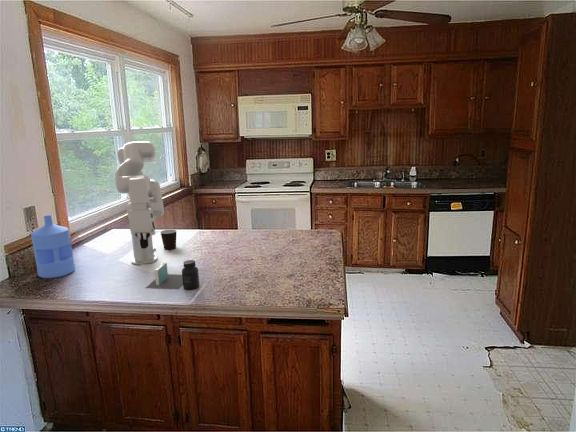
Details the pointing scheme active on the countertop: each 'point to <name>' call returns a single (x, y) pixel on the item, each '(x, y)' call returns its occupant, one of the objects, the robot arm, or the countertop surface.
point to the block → (161, 273)
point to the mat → (168, 282)
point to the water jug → (52, 250)
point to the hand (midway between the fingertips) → (144, 247)
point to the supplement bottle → (190, 275)
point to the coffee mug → (169, 239)
